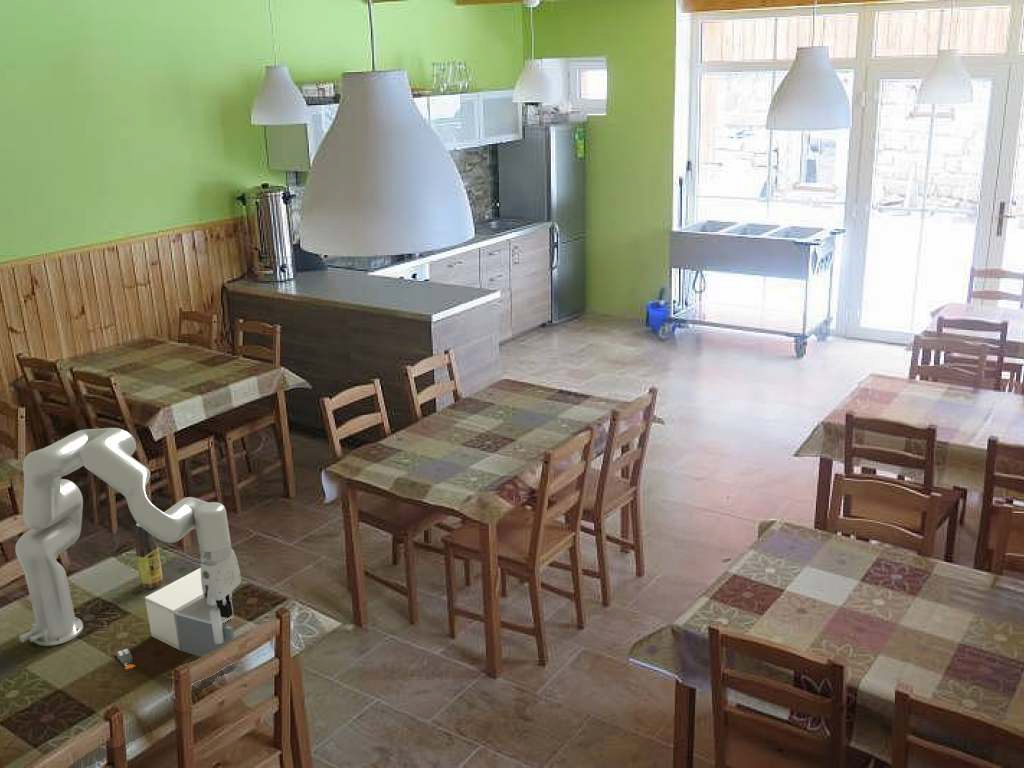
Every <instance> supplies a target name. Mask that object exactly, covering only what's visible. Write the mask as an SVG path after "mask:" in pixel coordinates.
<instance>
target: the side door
mask: <svg viewBox="0 0 1024 768" xmlns="http://www.w3.org/2000/svg"><path fill="white" fill-rule="evenodd" d="M210 616H211V621H208V620H204V619H200V618H197V617H193V616H189V615H185V614H182V613H178V612H175V613H174V619H175V625H176V631H177V637H178V643H179V649H180V650H179V649H178V650H179V651H180V652H185V653H187V654H191V655H195V656H198V657H201V656H202V655H205V654H208V653H210V652H212V651H214V650H216V649H218V648H220V647H221V646H223V645H224V644H226V643H227V642H229V641H232V640H234V639H235V632H234V627H233V626H231V625H230V626H229V625H226V624H222V621H221V614H220V609H219V608H212V609H211V610H210ZM238 665H239V661H238V662H236V663H234V664H232V665H231V666H233V667H237V666H238Z"/></svg>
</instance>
